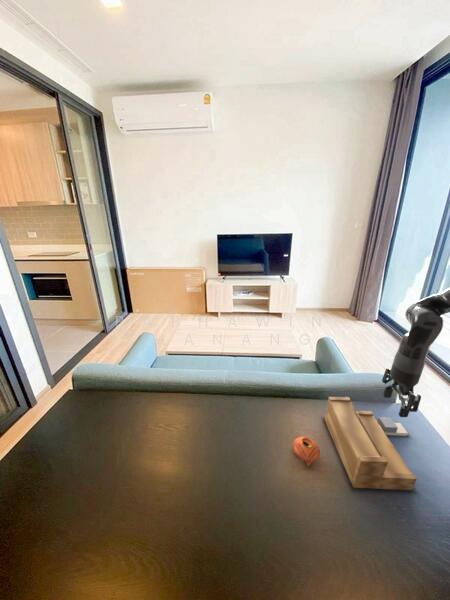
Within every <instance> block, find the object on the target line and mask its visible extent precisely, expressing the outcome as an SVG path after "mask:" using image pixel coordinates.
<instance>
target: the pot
mask: <svg viewBox="0 0 450 600" xmlns="http://www.w3.org/2000/svg"><path fill="white" fill-rule="evenodd" d="M292 449H293V452H294V453H295V455H296V456H297V457H298V458H299V459H300V460H302V461H303V462H305V463H306V466H307V467H309V466H311V464H312V462H315V461H318V459H319V458H320V455H321V450H320V447H319V446H318V444H317V443H316V442H315V441H314V440H312V438H310V437H307V436H299V437H296V438H295V440H294V441H293V443H292Z"/></svg>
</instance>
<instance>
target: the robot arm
mask: <svg viewBox="0 0 450 600" xmlns="http://www.w3.org/2000/svg"><path fill="white" fill-rule="evenodd" d="M448 313H450V287H449V288H447V289H445V290H444V291H442V292H439V293H437V294H436V293H435V294H432V295H430V296H427V297H425V298H422V299H420V300H418V301H416V302H413V303H412V304H411V305H409V306H408V308H407V309H406V311H405V314H404V315H405V319H406V320H407V322H408V323H409V324H410V330H409V332H407V333H404V334H403V335H402V336H401V338H400V341H399V345H398V348H397V350H396V353H395V355H394V357H393V361H392V365H391V368H385V370H384V374H383V376H382V379H381V382H382V383H383V384H384V391H383V395H382V396H383V397H384V398H385V399H390V398H391V397H392V394H393V391H395V392H396V393H397V395H398V399H399V401H400V404H401V406H400V409H399V412H398V416H399V418H408V417H409V414H410V413H416V412H418V410H419V406H420V404H421V400H422V395H421V394H419V393H417V394H416V393H415V390H414V387H415V386H417V385H418V384H419V382H420V379H421V377H422V374H423V371H424V368H425V364H426V359H427V357H428V354H429V351H430V348H431V346H432V345H433V344H434V343H435V341H436V340H437V339H438V336H440V334H441V332H442V330H443V328H444V318H443V315H446V314H448ZM406 396H407V397H406ZM406 402H407V404H406Z"/></svg>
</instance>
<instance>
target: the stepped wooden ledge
mask: <svg viewBox="0 0 450 600" xmlns="http://www.w3.org/2000/svg"><path fill="white" fill-rule="evenodd" d="M350 398H351V397H349V396H328V399H327V403H326V409H325V415H324V419H323V420H324V421H325V425H326V426H327V429H328V431H329V434H330V436H331V438H332V441H333V444H334V446H335V448H336V450H337V452H338V453H337V454H338V455H339V457H340V460H341V462H342V464H343V467H344V470H345V471H346V474H347V476H348V479H349V481H350V483H351V486H352V488H355V489H356V488H357V489H375V490H376V489H379V490H400V491H401V490H402V491H403V490H404V491H412V490H413V488H414V487H415V484H416V482H417V477H416V476H415V473H412V472H411V471H410V469H409V467H408V466H407V464H406V463H405V461H404V460H403V458H402V456H401V455H400V454H399V453H398V451H397V449H396V448H395V446H394V445H393V444H392V442H391V441H390V439H389V437H388V435H385V433H384V432H383V430H382V429H381V427H380V425H379V424H378V422H377V421H378V420H376V418H375V417H374V413H373V412H372V411H371V410H356V408H355V407H354V405H353V403H352V402H351V399H350Z"/></svg>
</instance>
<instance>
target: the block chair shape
mask: <svg viewBox="0 0 450 600" xmlns="http://www.w3.org/2000/svg"><path fill="white" fill-rule="evenodd" d="M377 418H378V419H377V420H376V421H377V422H378V424H379V425H380V427H381V429H382V430H383V432H384V433H385V435H386V436H396V437H397V436H398V437H399V436H400V437H401V436H402V437H407V436H408V435H409V432H408V431H407V429H406V428H405V427H404V425H402V423H401V422H394V421H393V419H392V418H391V417H390V416H378V417H377Z"/></svg>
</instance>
